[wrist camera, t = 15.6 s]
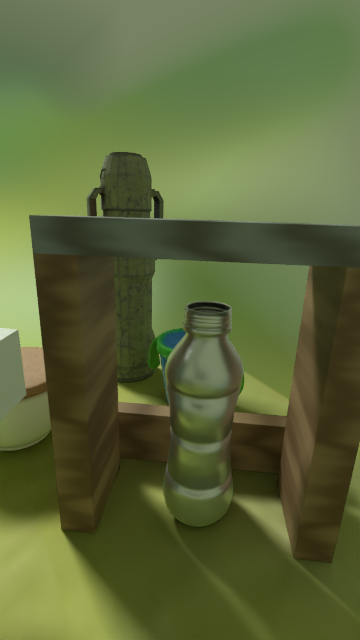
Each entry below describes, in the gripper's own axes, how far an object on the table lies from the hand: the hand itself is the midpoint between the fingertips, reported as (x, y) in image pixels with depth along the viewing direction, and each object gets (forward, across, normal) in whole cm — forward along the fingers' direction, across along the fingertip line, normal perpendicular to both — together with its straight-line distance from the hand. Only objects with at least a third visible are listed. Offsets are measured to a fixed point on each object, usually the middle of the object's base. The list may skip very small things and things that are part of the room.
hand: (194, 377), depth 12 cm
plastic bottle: (+14, +1, -22) cm, 26 cm away
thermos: (+41, -13, -23) cm, 49 cm away
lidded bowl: (+22, -22, -22) cm, 38 cm away
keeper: (+16, 0, -22) cm, 27 cm away
